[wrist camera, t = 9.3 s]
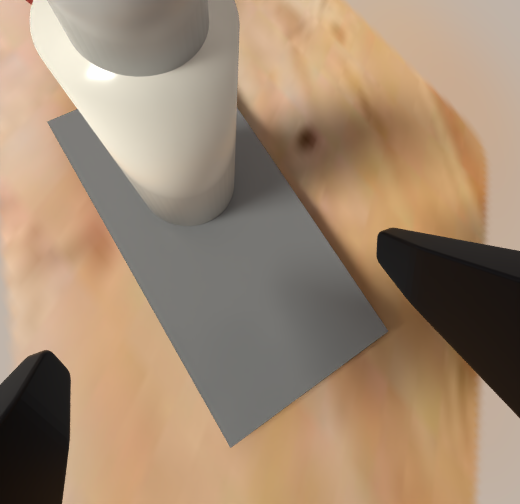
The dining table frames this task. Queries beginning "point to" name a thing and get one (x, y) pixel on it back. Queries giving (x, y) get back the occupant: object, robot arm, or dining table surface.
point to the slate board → (234, 282)
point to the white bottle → (153, 92)
